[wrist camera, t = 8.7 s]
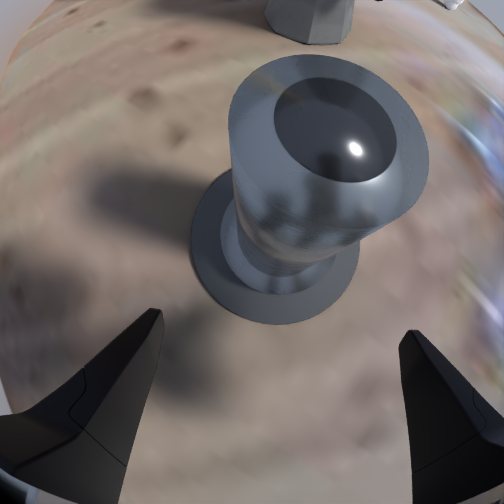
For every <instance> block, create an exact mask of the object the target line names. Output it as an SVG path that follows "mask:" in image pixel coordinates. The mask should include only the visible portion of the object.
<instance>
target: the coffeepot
mask: <svg viewBox="0 0 504 504" xmlns="http://www.w3.org/2000/svg"><path fill="white" fill-rule="evenodd" d="M376 1H383V0H376ZM353 9H354V0H268V3H267V6H266V9H265V12H264V15H265V17H266V19H267V21H268V24H269V25H270V26H271V28H272V29H273V30H274V31H275V32H277V33H279V34H281V35H282V36H285V37H287V38H289V39H292V40H295V41H298V42H302V43H306V44H313V45H332V44H336V43H341V42H342V41H343V40H344V39H345V38H346V36H347V34H348V33H349V32H350V31H351V25H352V17H353Z"/></svg>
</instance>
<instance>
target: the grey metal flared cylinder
mask: <svg viewBox="0 0 504 504" xmlns="http://www.w3.org/2000/svg"><path fill="white" fill-rule="evenodd" d="M228 129H229V142H230V154H231V166H232V178H233V189H234V199H233V200H232V201H231V202H230V204H229V206H228V207H227V209H226V211H225V214H224V216H223V219H222V223H221V230H220V240H221V246H222V250H223V254H224V256H225V259H226V261H227V263H228V265H229V267H230V269H231V270H232V272H233V273H234V274H235V276H236V277H237V278H238V279H239V280H240V281H241V282H242V283H244V284H245V285H247V286H248V287H250V288H252V289H253V290H255V291H258V292H261V293H264V294H268V295H288V294H293V293H298V292H301V291H304V290H306V289H308V288H310V287H312V286H313V285H315V284H316V283H317V282H319V281H320V280H321V279H322V278H323V277H324V276H325V275H326V273H327V272H328V271H329V269H330V268H331V266H332V264H333V262H334V260H335V258H336V254H337V253H338V252H339V251H341V250H343V249H345V248H347V247H348V246H350V245H352V244H354V243H356V242H357V241H359V240H361V239H363V238H364V237H366V236H368V235H370V234H371V233H373V232H375V231H377V230H378V229H380V228H382V227H383V226H385V225H387V224H389V223H390V222H392V221H394V220H395V219H397V218H399V217H400V216H402V215H403V214H404V213H406V212H407V211H408V210H409V209H410V208H411V207H412V206H413V205H414V204H415V203H416V201H417V200H418V198H419V197H420V195H421V194H422V191H423V189H424V187H425V184H426V181H427V176H428V171H429V152H428V146H427V141H426V138H425V135H424V132H423V129H422V127H421V125H420V123H419V121H418V119H417V117H416V115H415V114H414V112H413V110H412V109H411V108H410V106H409V105H408V104H407V102H406V101H405V100H404V99H403V98H402V96H401V95H400V94H399V93H398V92H397V91H396V90H395V89H394V88H393V87H391V86H390V85H389V84H388V83H387V82H385V81H384V80H383V79H381V78H380V77H379V76H377V75H375V74H374V73H372V72H371V71H369V70H367V69H365V68H363V67H361V66H359V65H356V64H354V63H351V62H349V61H346V60H342V59H339V58H335V57H330V56H324V55H309V54H304V55H293V56H288V57H283V58H280V59H277V60H274V61H271V62H269V63H267V64H265V65H263V66H261V67H259V68H258V69H256V70H255V71H253V72H252V73H251V74H250V75H249V76H248V77H247V78H246V79H245V80H244V81H243V82H242V83H241V85H240V86H239V87H238V89H237V91H236V93H235V94H234V97H233V99H232V102H231V105H230V110H229V116H228Z"/></svg>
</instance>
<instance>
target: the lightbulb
mask: <svg viewBox="0 0 504 504" xmlns="http://www.w3.org/2000/svg"><path fill="white" fill-rule="evenodd" d="M463 1H464V0H444V4H445V6H446V7H447V8H448V9H452V10H455V9H456V8H457V6H458V5H459V4H461V3H462V2H463Z"/></svg>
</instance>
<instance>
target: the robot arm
mask: <svg viewBox="0 0 504 504" xmlns="http://www.w3.org/2000/svg"><path fill="white" fill-rule="evenodd" d="M163 334H164V320H163V314H162V311H161V310H160V309H155V308H149V309H148V310H147V311H146V312H145V313H143V314H142V315H141V316H140V317H139V318H138V319H136V320H135V321H134V322H133V323H132V324H131V325H130V326H129V327H127V328H126V329H125V330H124V331H123V332H122V333H121V334H119V335H118V336H117V337H116V338H115V339H114V340H113V341H112V342H110V343H109V344H108V345H107V346H106V347H105V348H104V349H103V350H102V351H100V352H99V353H98V354H97V355H96V356H95V357H94V358H93V359H92V360H90V361H89V362H88V363H87V364H86V365H85V366H84V368H81V369H80V370H79V371H78V372H77V373H76V374H75V375H74V376H73V377H71V378H70V379H69V380H68V381H67V382H66V383H64V384H63V385H62V386H60V387H59V388H58V389H56V390H55V391H54V392H52V393H51V394H50V395H48V396H47V397H46V398H44V399H43V400H41V401H40V402H39V403H37V404H36V405H35V406H33V407H32V408H30V409H28V410H26V411H24V412H21V413H18V414H11V415H3V416H0V504H118V501H119V497H120V492H121V488H122V484H123V480H124V477H125V473H126V469H127V465H128V461H129V457H130V454H131V450H132V447H133V443H134V440H135V436H136V433H137V429H138V426H139V422H140V419H141V416H142V412H143V409H144V406H145V403H146V399H147V396H148V393H149V390H150V387H151V384H152V381H153V378H154V374H155V371H156V367H157V363H158V358H159V353H160V348H161V343H162V338H163ZM399 359H400V371H401V383H402V390H403V396H404V403H405V410H406V417H407V425H408V434H409V443H410V455H411V469H412V495H413V504H504V418H503V417H502V416H501V415H500V414H499V413H498V412H497V411H496V410H495V409H494V408H493V407H492V406H491V405H490V404H489V403H488V402H487V401H486V400H485V399H484V398H483V397H482V396H481V395H480V394H479V393H478V392H477V390H476V389H475V388H474V387H473V386H472V385H471V384H470V383H469V382H468V381H467V380H466V379H465V377H464V376H463V375H462V374H461V373H460V372H459V371H458V370H457V369H456V368H455V367H454V366H453V365H452V364H451V363H450V362H449V361H448V360H447V358H446V357H445V356H444V355H443V354H442V353H441V352H440V351H439V350H438V349H437V348H436V347H435V346H434V345H433V344H432V343H431V342H430V341H429V340H428V339H427V338H426V337H425V336H424V335H423V334H422V333H421V332H420V331H419V330H408V331H407V333H406V334H405V336H404V337H403V339H402V340H401V342H400V344H399Z"/></svg>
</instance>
